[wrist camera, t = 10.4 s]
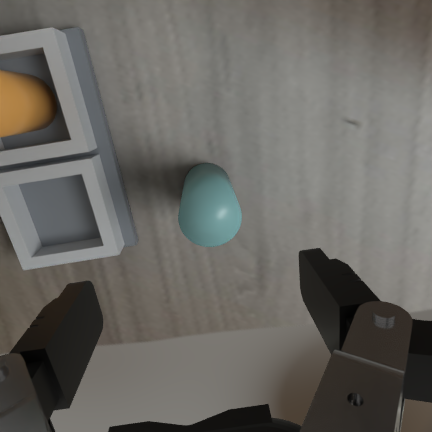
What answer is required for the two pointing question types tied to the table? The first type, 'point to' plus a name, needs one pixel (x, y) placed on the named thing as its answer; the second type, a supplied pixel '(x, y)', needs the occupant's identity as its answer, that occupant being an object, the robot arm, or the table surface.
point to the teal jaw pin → (209, 206)
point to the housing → (62, 160)
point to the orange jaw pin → (24, 103)
